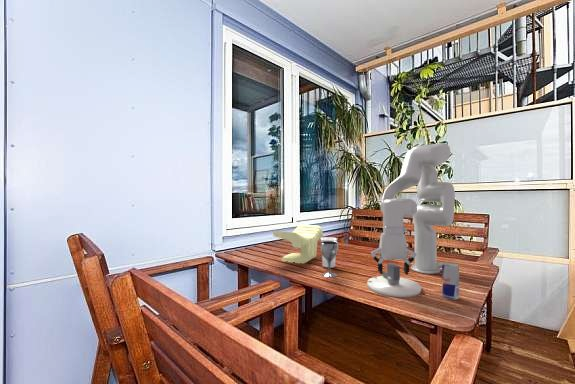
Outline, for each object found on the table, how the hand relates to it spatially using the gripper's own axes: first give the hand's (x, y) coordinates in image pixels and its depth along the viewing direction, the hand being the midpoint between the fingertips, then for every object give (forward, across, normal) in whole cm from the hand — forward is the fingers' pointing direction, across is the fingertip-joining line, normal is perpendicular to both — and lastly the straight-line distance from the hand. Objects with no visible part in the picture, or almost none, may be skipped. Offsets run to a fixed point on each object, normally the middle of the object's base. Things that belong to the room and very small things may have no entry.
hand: (393, 273), depth 111 cm
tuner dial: (+6, 0, 0) cm, 6 cm away
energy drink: (+6, -18, +8) cm, 21 cm away
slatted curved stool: (+6, +41, -40) cm, 58 cm away
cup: (+6, +25, -28) cm, 38 cm away
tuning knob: (+4, +1, -3) cm, 5 cm away
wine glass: (+6, +25, -14) cm, 29 cm away
